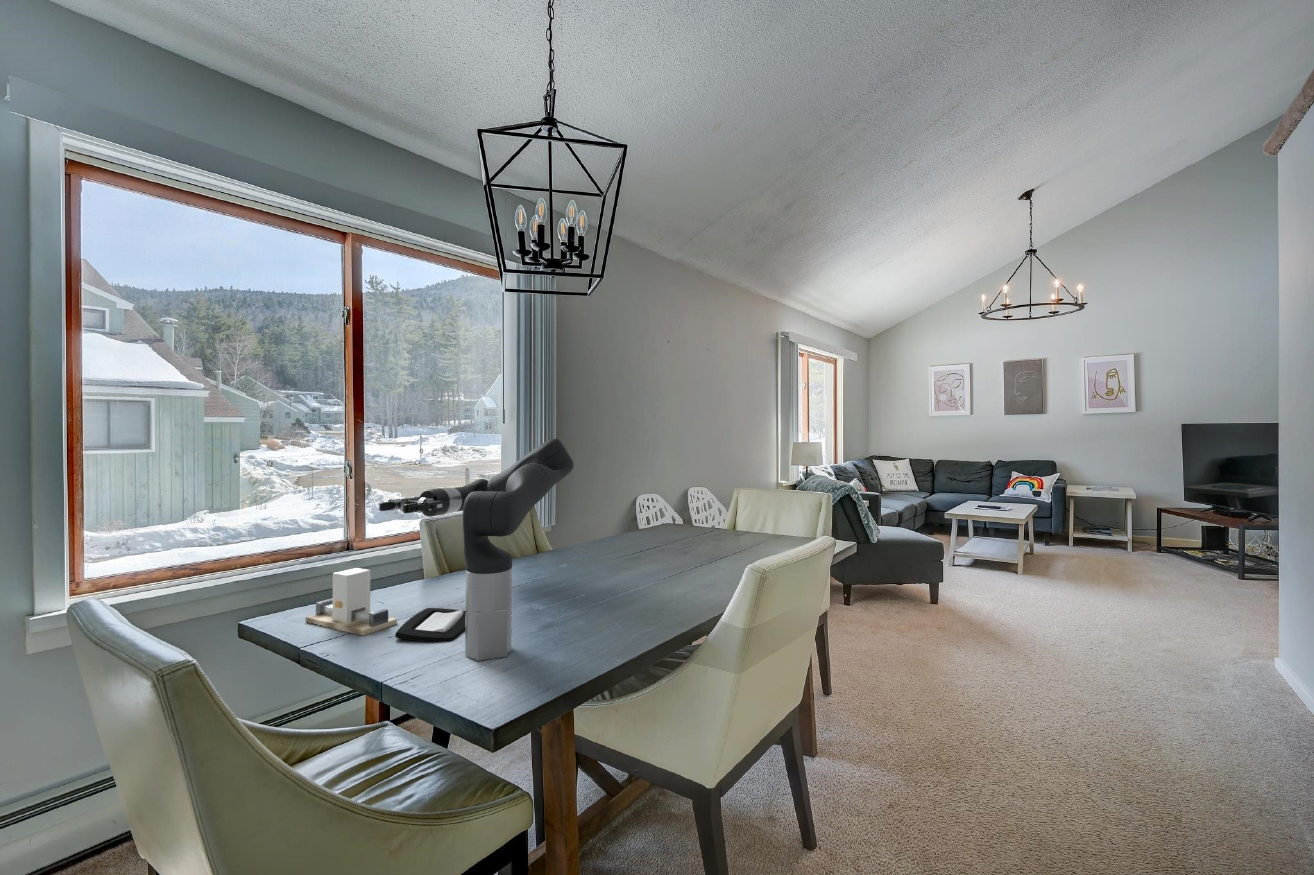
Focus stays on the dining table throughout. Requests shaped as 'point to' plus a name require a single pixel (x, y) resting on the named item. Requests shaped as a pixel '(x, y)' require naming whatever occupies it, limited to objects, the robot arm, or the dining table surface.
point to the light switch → (433, 625)
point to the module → (350, 593)
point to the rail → (355, 613)
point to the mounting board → (348, 624)
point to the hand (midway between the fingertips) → (391, 508)
